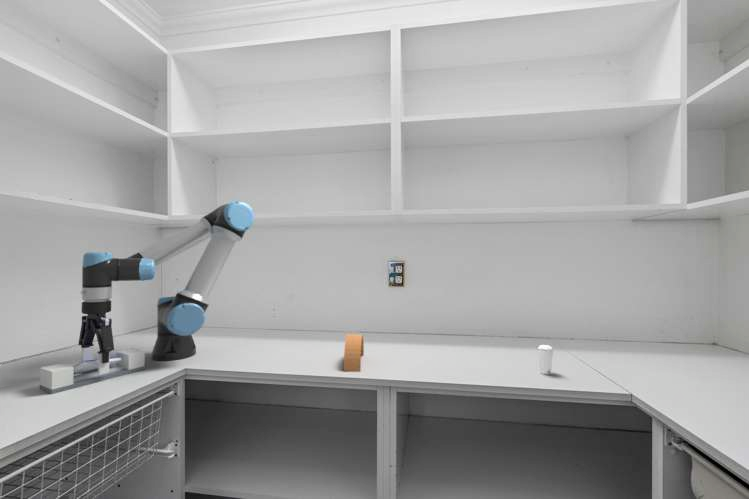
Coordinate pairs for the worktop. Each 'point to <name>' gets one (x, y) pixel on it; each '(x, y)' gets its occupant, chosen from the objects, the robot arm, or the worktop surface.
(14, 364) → the worktop surface
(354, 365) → the arch
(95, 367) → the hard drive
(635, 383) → the worktop surface
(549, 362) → the milkshake
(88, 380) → the rail board
